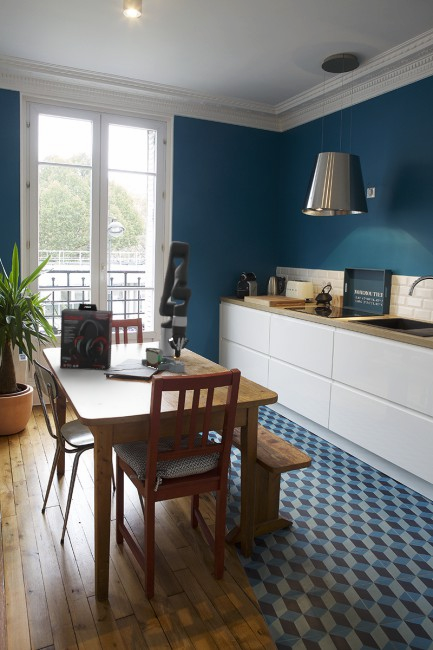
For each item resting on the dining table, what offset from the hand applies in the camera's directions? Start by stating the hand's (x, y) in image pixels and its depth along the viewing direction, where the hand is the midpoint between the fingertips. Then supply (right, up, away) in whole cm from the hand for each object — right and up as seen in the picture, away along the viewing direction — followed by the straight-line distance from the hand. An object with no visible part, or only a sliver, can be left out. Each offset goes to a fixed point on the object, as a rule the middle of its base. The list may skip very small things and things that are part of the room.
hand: (177, 357), depth 267 cm
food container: (-12, -6, +6) cm, 15 cm away
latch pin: (0, -6, +1) cm, 6 cm away
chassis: (-6, -6, +8) cm, 12 cm away
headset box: (-47, -5, -5) cm, 48 cm away
